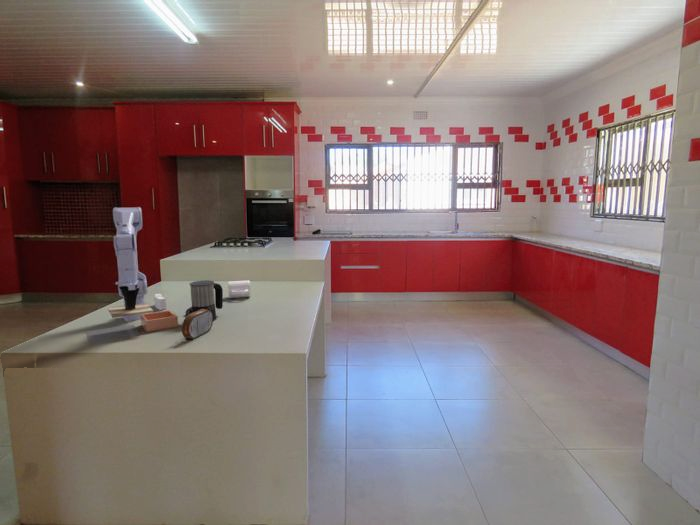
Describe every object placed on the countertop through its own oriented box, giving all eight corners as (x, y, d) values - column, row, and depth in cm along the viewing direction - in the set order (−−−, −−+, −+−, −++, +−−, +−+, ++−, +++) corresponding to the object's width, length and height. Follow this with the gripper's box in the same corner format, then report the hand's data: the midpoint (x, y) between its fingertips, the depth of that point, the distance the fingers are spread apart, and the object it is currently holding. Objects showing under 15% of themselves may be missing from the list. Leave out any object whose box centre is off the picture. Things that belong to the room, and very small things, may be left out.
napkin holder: (168, 312, 176) (167, 298, 175) (140, 312, 175) (139, 299, 174) (180, 303, 190) (179, 291, 190) (154, 303, 190) (153, 291, 189)
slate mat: (86, 334, 146) (85, 332, 146) (133, 326, 154) (133, 324, 154) (90, 345, 134) (89, 344, 134) (141, 336, 143) (141, 335, 142)
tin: (207, 328, 151) (206, 305, 150) (215, 328, 151) (214, 306, 149) (181, 342, 137) (179, 317, 136) (190, 342, 136) (188, 317, 135)
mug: (228, 296, 202) (227, 280, 201) (249, 294, 205) (248, 278, 204) (229, 302, 190) (228, 285, 189) (251, 300, 193) (250, 283, 192)
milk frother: (208, 323, 157) (206, 285, 155) (171, 321, 160) (168, 283, 158) (227, 313, 171) (225, 278, 169) (192, 311, 174) (190, 277, 172)
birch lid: (108, 309, 148) (107, 298, 147) (146, 305, 155) (145, 294, 155) (112, 317, 138) (111, 306, 137) (153, 312, 145) (152, 301, 145)
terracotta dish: (141, 326, 154) (140, 314, 153) (171, 321, 160) (170, 310, 159) (147, 333, 146) (146, 321, 145) (178, 328, 152) (177, 316, 151)
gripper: (111, 267, 148) (115, 304, 150) (117, 272, 136) (120, 313, 138) (133, 265, 152) (136, 301, 154) (140, 270, 140) (144, 309, 142)
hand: (130, 306), depth 146 cm, fingers closed on birch lid, 3 cm apart
